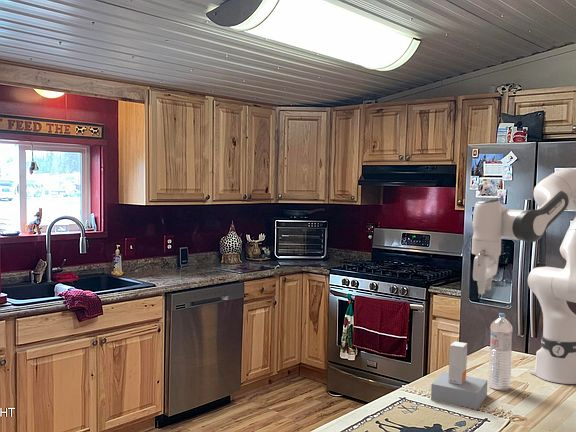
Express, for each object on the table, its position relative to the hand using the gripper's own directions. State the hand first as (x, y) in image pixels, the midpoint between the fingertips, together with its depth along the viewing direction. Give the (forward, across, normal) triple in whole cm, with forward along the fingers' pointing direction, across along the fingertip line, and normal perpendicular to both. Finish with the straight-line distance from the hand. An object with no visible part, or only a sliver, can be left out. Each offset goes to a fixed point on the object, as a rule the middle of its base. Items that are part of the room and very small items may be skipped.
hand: (484, 291), depth 175 cm
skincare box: (+28, -8, +6) cm, 30 cm away
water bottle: (+33, +9, -4) cm, 35 cm away
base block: (+33, -8, +5) cm, 34 cm away
